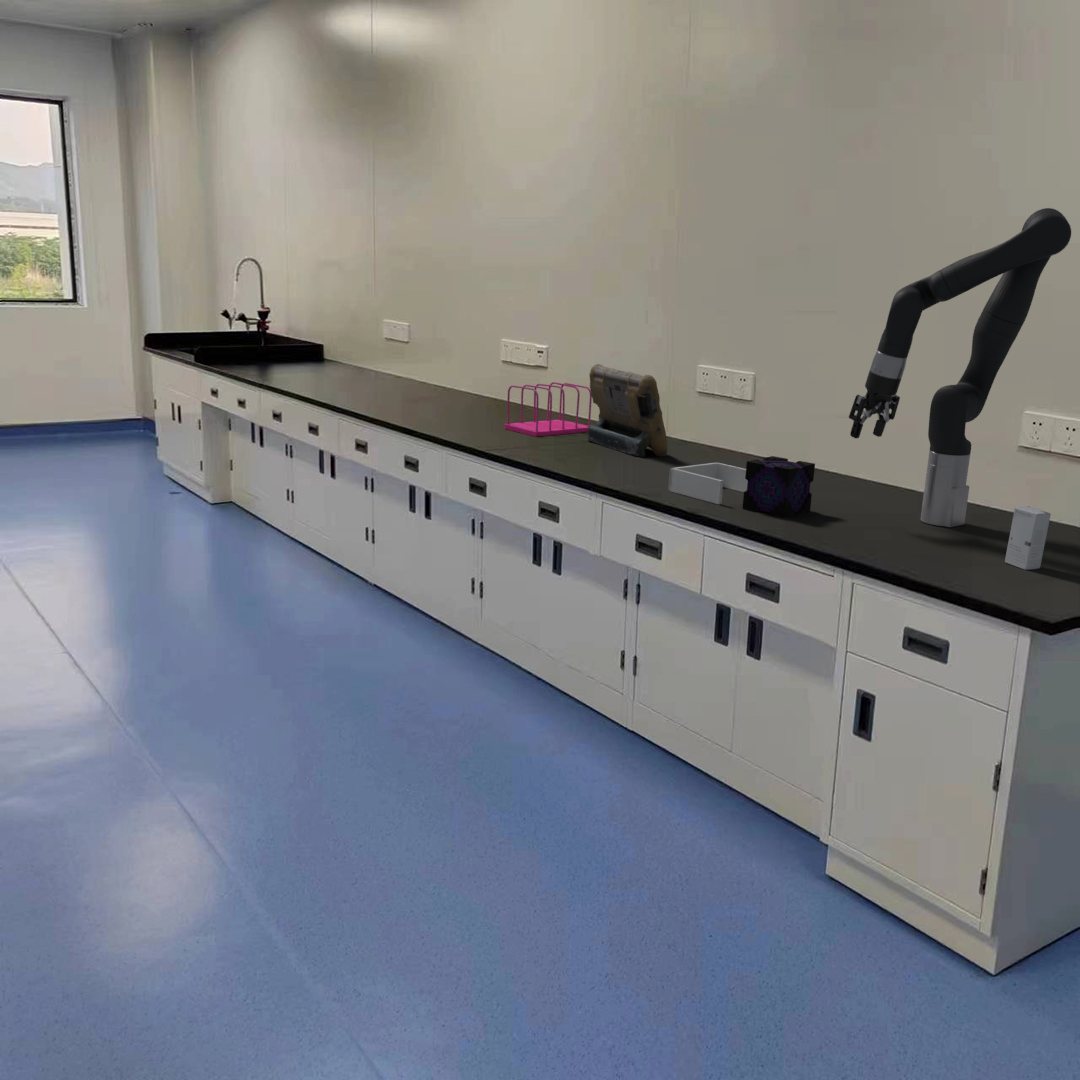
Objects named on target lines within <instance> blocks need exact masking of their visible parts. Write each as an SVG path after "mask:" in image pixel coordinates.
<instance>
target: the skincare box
mask: <svg viewBox="0 0 1080 1080" xmlns="http://www.w3.org/2000/svg"><path fill="white" fill-rule="evenodd" d="M1051 514H1052V513H1051V512H1048V511H1045V510H1042V509H1039V508H1035V507H1031V506H1028V505H1027V506H1018V507H1017V506H1016V507H1014V511H1013V516H1012V522H1011V527H1010V532H1009V538H1008V543H1007V547H1006V554H1005V559H1004V562H1005V563H1006V564H1009V565H1011V566H1014V567H1017V568H1019V569H1022V570H1025V571H1026V570H1037V569H1040V568H1041V564H1042V561H1043V555H1044V549H1045V545H1046V540H1047V535H1048V529H1049V524H1050V520H1051Z"/></svg>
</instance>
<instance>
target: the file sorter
mask: <svg viewBox="0 0 1080 1080" xmlns="http://www.w3.org/2000/svg"><path fill="white" fill-rule="evenodd" d="M563 387H568V388H572V389H575V390H576V392H577V400H576V413H575V422H574V421H569V420H565V412H566V411H565V409H566V408H565V404H566V400H565V398H566V397H565V396H566V395H565V390H564V388H563ZM512 388H516V389H521V393H520V394H521V396H520V398H521V399H520V422H514V423H510V393H511V389H512ZM551 388H556V389H560V391H559V411H558V414H559V417H558V419H552V417H553V415H552V414H553V413H552V412H553V411H552V410H553V409H552V408H553V393H552V391H551ZM579 388H582V389H586V390H588V391H589V392H588V393H589V403H588V405H589V406H588V420H587V421H588V422H587V425H586V424H582V423H579V410H580V409H579V408H580V395H581V394H580V393H581V392H580V390H579ZM524 389H525V390H530V391H533V421H526V422H523V421H524V420H523V419H524V418H523V417H524V416H523V415H524ZM537 389H540V390H541V389H542V390H546V391H548V392H547V393H548V394H547V405H546V406H547V407H546V420H539V393H538V391H537ZM592 402H593V398H592V395H591V389H590V387H588V386H585V385H580V384H575V383H568V382H563V383H561V382H555V381H554V382H553V381H552V382H550V383H549V384H546V383H545V384H544V383H538V384H536V385H532V384H524V385H523V386H520V385H511V386H509V387H508V389H507V415H506V417H507V420H506V421H507V423H504V429H505V430H508V431H511V432H517V433H521V434H524V435H528V436H532V437H549V436H558V435H569V434H580V433H588V428H589V425H591V413H592Z"/></svg>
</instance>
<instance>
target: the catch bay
mask: <svg viewBox="0 0 1080 1080" xmlns="http://www.w3.org/2000/svg"><path fill="white" fill-rule="evenodd" d="M668 473H669V474H668V487H667V488H668V492H672V493H675V494H679V495H683V496H685V497H690V498H694V499H697V500H701V501H704V502H707V503H711V504H712V503H713V504H715V505H722V500H723V499H722V498H723V489H724V488H726V489H730V490H734V491H737V492H741V493H744V492H745V491H746V490H747V484H748V480H746V479H745V475H746V468H744V467H738V466H734V465H730V464H725V463H722V462H718V461H717V462H709V463H701V464H693V465H685V466H678V467H677V466H676V467H670V468H669V472H668Z"/></svg>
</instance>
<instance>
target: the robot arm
mask: <svg viewBox="0 0 1080 1080" xmlns="http://www.w3.org/2000/svg"><path fill="white" fill-rule="evenodd" d="M1071 238H1072V228H1071V225H1070V223H1069V221H1068V219H1067V218H1066V216H1064V214H1063V213H1062V212H1060V211H1059V210H1057V209H1055V208H1051V207H1045V208H1041V209H1038V210H1036V211H1035V212H1033V213H1032V214H1031V215H1029V217H1028V218H1027V219H1025V222H1024V223H1023V226H1022V228H1021V231H1020V232H1019V233H1017V234H1015V235H1014V236H1012V237H1010V239H1007V240H1006V241H1004V242H1002V243H1000V244H997V245H996V246H993V247H991V248H989V249H986V250H983V251H980V252H977V253H973V254H970V255H968V256H966V257H963V258H961V259H959V260H956V261H955V262H952V263H951V264H949V265H947V266H945V267H943V268H941V269H939V270H937V271H936V272H934V273H932V274H930V275H929V276H927V277H923V278H921V279H919V280H916V281H914V282H911V283H909V284H907V285H906V286H904V287H901V288H900V289H899V290H897V291H896V293H895V294H894V296H893V299H892V301H891V305H890V308H889V312H888V315H887V321H886V323H885V327H884V330H883V332H882V334H881V337H880V340H879V342H878V346H877V348H876V349H877V350H876V351H875V354H874V357H873V359H872V361H871V364H870V368H869V370H868V371H869V372H868V374H867V377H866V381H865V385H864V387H865V389H866V392H865V393H866V394H865V395H864V396H863V395H860V394H856V396H855V398H854V401H853V403H852V406H851V410H850V412H849V415H848V419H850V420H852V421H853V423H852V426H851V430H850V437H852V438H853V439H859V438H860V436H861V433H862V429H863V427H864V423H865V422H866V420H868V419H869V418H871V417H872V416H873V415H876V414H877V420H876V421H875V425H874V428H873V431H872V434H873V436H876V437H878V438H880V437H882V436H883V433H884V431H885V428H886V425H887V423H889V421H890V420H892V421H893V420H894V419H895V417H896V414H897V409H898V406H899V402H900V399H901V397H900V396H899V395H897V394H898V390H899V388H900V384H901V381H902V378H903V375H904V372H905V369H906V365H907V360H908V356H909V353H910V351H911V347H912V344H913V338H914V334H915V331H916V329H917V326H918V324H919V322H920V319H921V316H922V313H923V311H925V310H927V309H929V308H931V307H933V306H935V305H937V304H939V303H943V302H947V301H950V300H952V299H954V298H957V297H959V296H960V295H963V294H965V293H966V292H968V291H970V290H972V289H974V288H976V287H978V286H980V285H981V284H984V283H985V282H988V281H990V280H993V279H994V278H996V277H998V276H1000V275H1001V276H1000V278H999V280H998V281H997V283H996V285H995V287H994V289H993V290H992V293H991V294H990V296H989V298H988V300H987V302H986V303H985V305H984V308H983V309H982V312H980V316H979V317H978V319H977V321H976V324H975V327H974V328H973V333H972V339H971V340H972V342H971V354H970V358H969V362H968V363H967V366H966V368H965V370H964V371H963V374H962V375H961V377H960V379H959V381H958V382H957V383H956V384H949V385H945V386H942V387H940V388H938V389H937V390H936V391H935V393H934V394H933V396H932V399H931V401H930V402H931V403H930V409H929V416H928V417H929V419H928V431H927V436H928V441H929V451H928V452H929V453H928V458H927V459H928V460H927V464H926V465H927V467H926V474H925V481H924V489H923V496H922V504H921V511H920V514H921V515H920V521H921V522H922V523H925V524H929V525H933V526H939V527H947V528H953V527H958V526H963V525H965V523H966V521H965V520H966V515H967V506H968V501H969V500H968V499H969V494H970V485H967V482H968V473H969V466H970V459H971V452H972V443H971V441H970V440H968V439H967V437H966V424H967V423H970V422H972V421H974V420H976V419H977V417H979V416H980V414H981V413H982V411H983V410H984V407H985V405H986V402H987V400H988V396H989V394H990V391H991V388H992V387H993V384H994V381H995V379H996V377H997V374H998V372H999V370H1000V369H1001V367H1002V365H1003V363H1004V361H1005V359H1006V357H1007V355H1008V353H1009V351H1010V350H1011V348H1012V346H1013V344H1014V342H1015V340H1016V338H1017V337H1018V335H1019V332H1020V331H1021V329H1022V327H1023V326H1024V323H1025V321H1026V319H1027V316H1028V315H1029V311H1030V310H1031V306H1032V302H1033V300H1034V296H1035V292H1036V289H1037V285H1038V282H1039V280H1040V277H1041V274H1042V273H1043V271H1044V269H1045V268H1046V265H1047V264H1048V262H1049V260H1050V259H1051V257H1052V256H1054V255H1057V254H1059V253H1061V252H1062V251H1063V250H1065V248H1066V247H1067V246H1068V244H1069V243H1070V241H1071ZM890 410H891V412H890Z"/></svg>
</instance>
